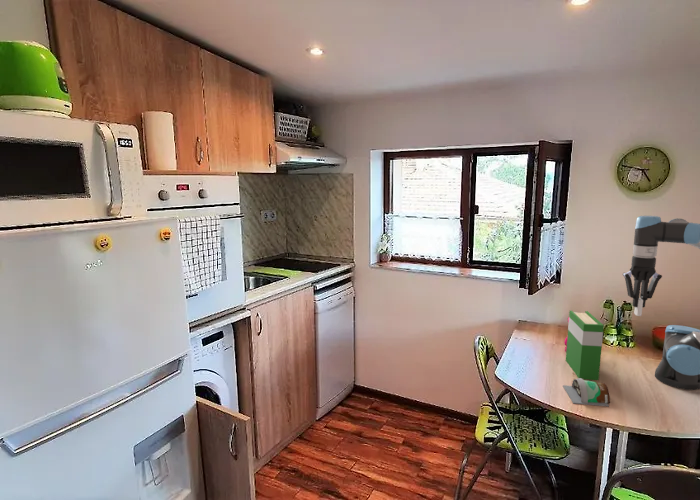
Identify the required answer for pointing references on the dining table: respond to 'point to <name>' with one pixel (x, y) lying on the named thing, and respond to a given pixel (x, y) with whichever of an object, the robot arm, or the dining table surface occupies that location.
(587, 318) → the hardback book
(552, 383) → the dining table surface
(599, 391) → the food container
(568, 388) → the mat
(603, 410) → the dining table surface
